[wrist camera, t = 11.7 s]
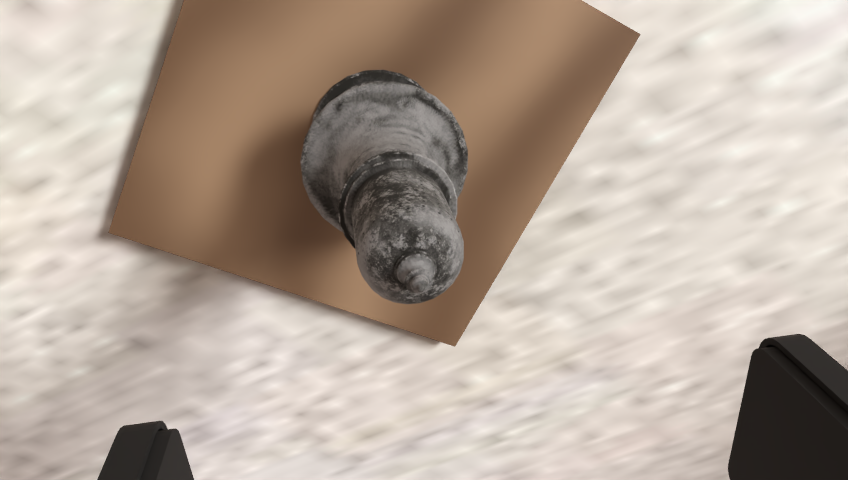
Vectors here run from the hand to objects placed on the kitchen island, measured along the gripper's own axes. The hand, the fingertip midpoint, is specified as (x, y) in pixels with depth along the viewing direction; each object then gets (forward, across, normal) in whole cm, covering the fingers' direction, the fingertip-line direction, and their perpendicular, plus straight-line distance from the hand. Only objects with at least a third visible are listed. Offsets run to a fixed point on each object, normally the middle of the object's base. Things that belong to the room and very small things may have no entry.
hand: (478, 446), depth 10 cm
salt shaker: (+17, 0, 0) cm, 17 cm away
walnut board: (+18, +1, 0) cm, 18 cm away
